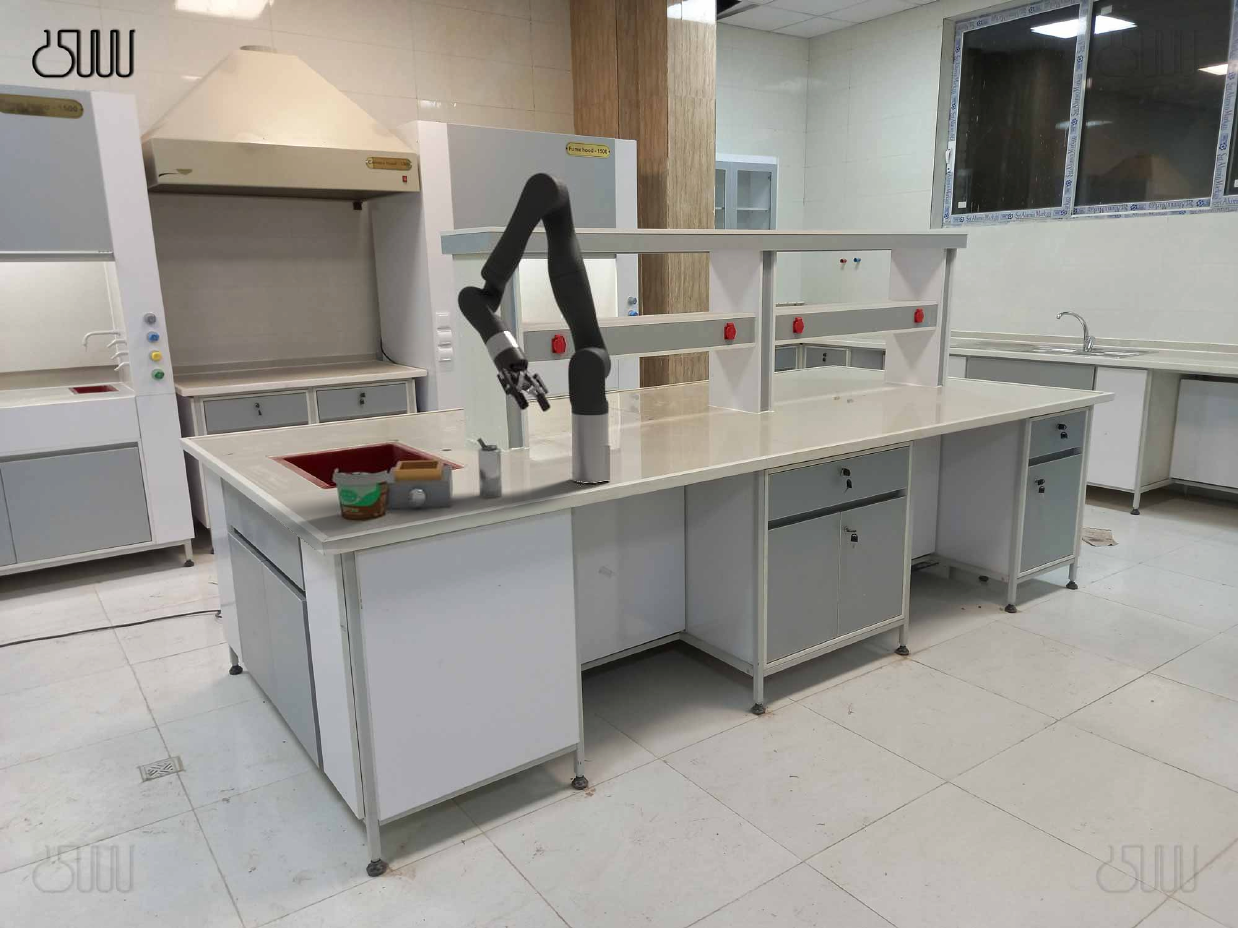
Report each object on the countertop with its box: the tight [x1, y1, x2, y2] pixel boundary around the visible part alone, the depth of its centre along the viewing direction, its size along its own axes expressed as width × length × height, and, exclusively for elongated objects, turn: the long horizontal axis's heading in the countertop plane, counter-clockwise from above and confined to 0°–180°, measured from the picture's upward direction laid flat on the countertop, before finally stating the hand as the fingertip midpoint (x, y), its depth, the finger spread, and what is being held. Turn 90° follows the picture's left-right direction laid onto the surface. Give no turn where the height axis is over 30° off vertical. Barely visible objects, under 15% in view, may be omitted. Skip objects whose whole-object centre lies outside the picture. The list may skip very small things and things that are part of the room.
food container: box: [332, 467, 390, 522], centre depth 181 cm, size 12×6×10 cm, turn 81°
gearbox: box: [386, 459, 454, 510], centre depth 195 cm, size 14×19×8 cm
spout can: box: [476, 437, 503, 499], centre depth 199 cm, size 5×5×14 cm
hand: (536, 408), depth 204 cm, fingers open, 8 cm apart
